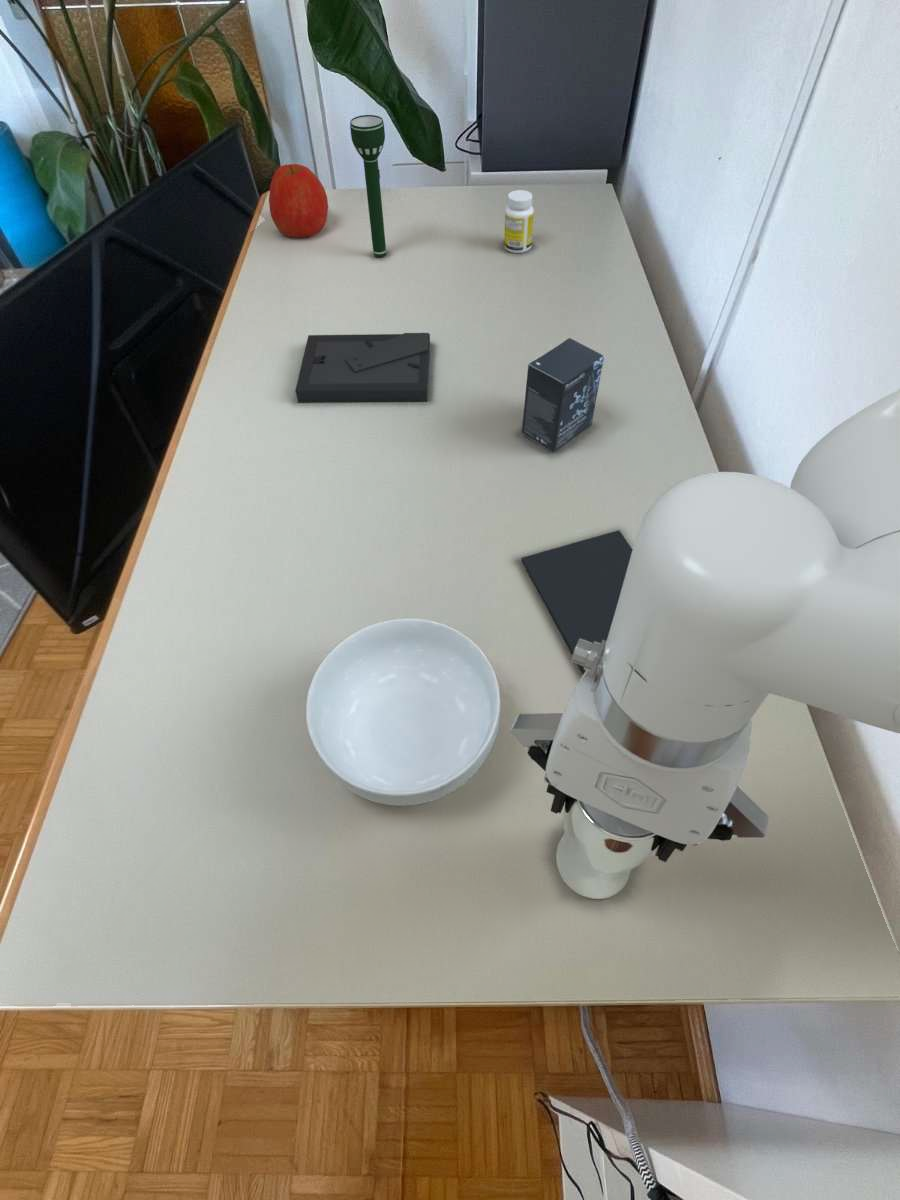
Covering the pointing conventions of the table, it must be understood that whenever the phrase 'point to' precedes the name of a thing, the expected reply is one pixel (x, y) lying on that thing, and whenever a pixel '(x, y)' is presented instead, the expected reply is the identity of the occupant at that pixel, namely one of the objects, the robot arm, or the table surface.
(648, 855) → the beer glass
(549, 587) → the placemat
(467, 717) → the cereal bowl
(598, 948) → the table surface
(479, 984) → the table surface
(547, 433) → the box
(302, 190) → the apple
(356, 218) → the table surface
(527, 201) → the supplement bottle
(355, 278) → the table surface
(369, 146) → the flashlight
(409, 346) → the picture frame
